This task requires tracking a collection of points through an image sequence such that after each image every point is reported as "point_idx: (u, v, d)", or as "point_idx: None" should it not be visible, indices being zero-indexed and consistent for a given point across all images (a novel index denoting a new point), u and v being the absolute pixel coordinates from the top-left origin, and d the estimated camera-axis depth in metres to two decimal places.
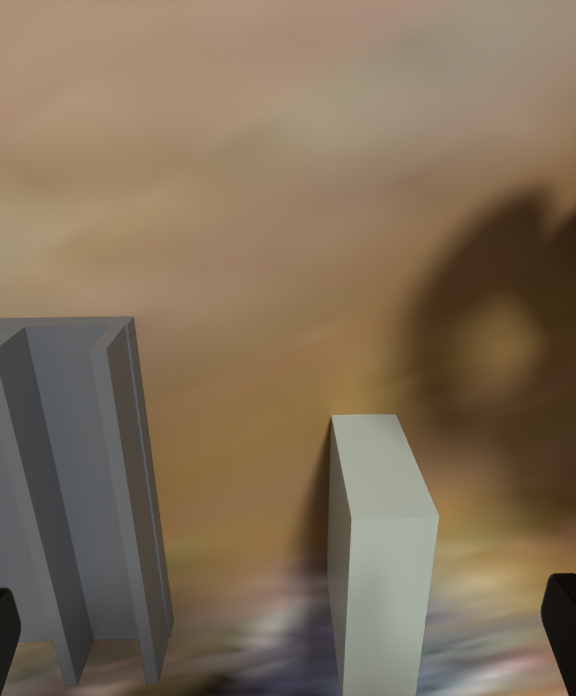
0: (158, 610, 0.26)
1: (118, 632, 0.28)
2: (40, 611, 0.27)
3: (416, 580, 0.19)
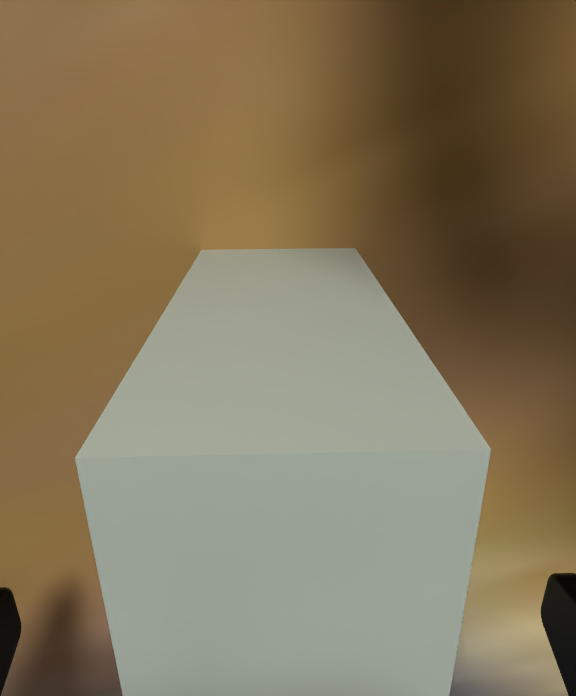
0: None
1: None
2: None
3: None
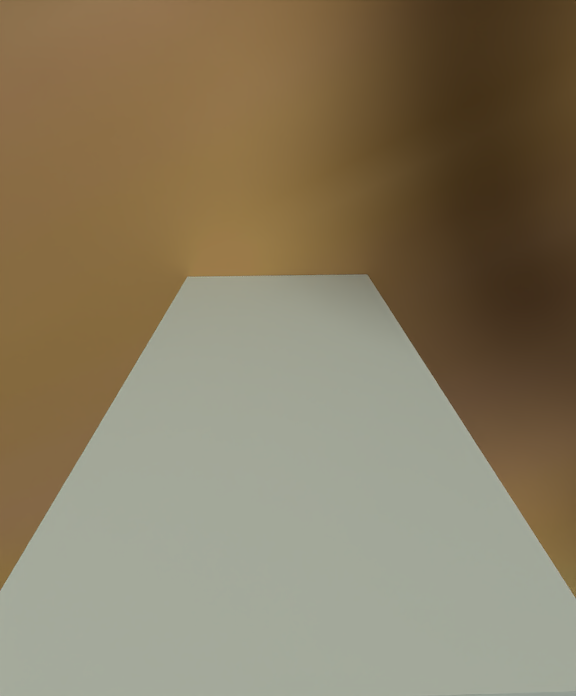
0: None
1: None
2: None
3: None
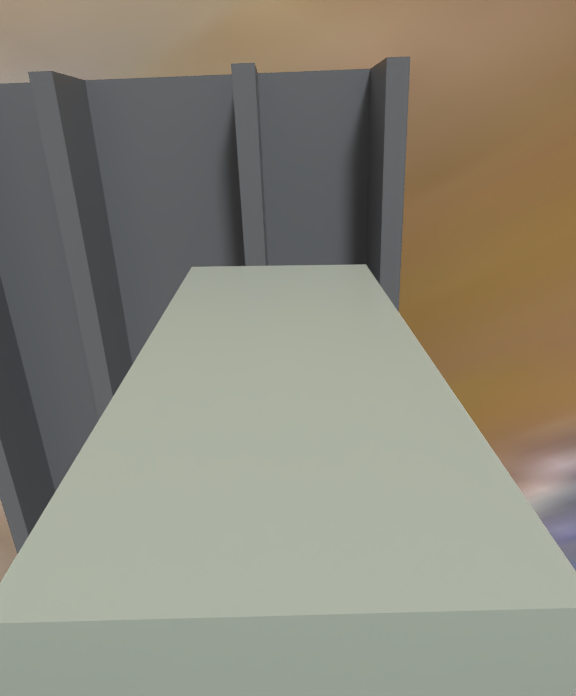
0: None
1: None
2: None
3: None
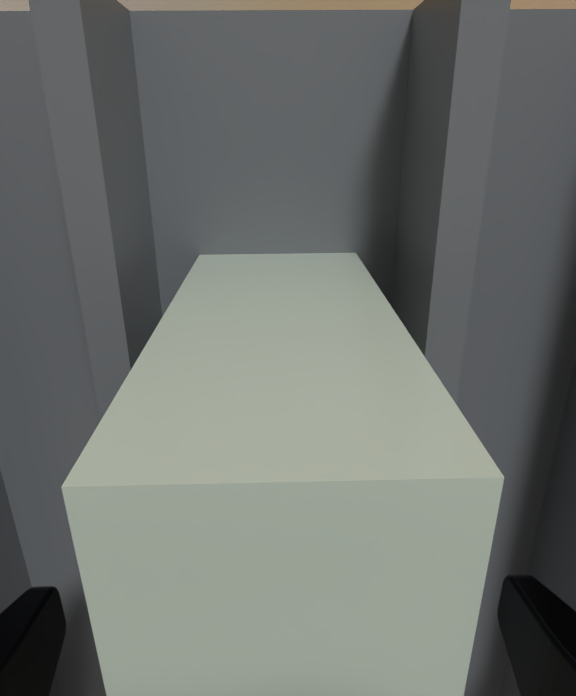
0: None
1: None
2: None
3: None
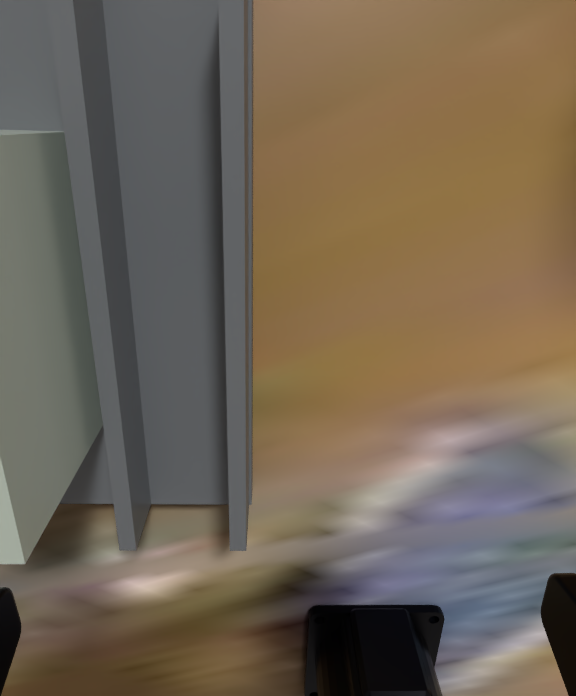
0: None
1: (184, 494, 0.21)
2: None
3: None
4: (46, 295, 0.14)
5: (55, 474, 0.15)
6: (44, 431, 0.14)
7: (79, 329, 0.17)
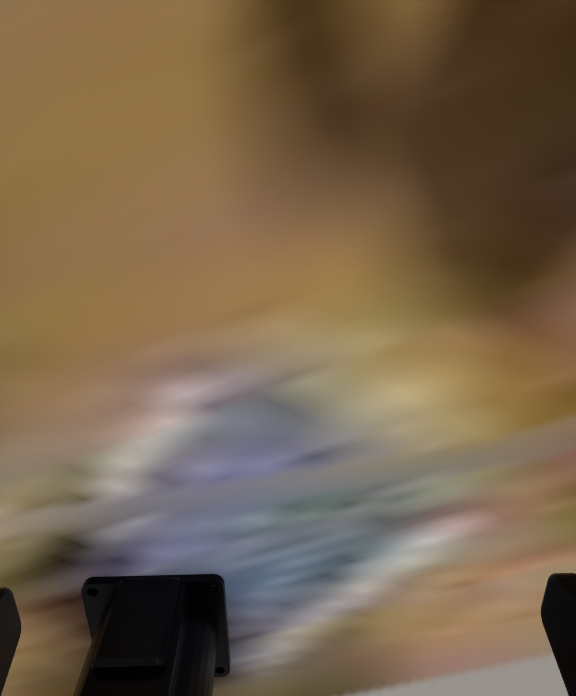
0: None
1: None
2: None
3: None
4: None
5: None
6: None
7: None
